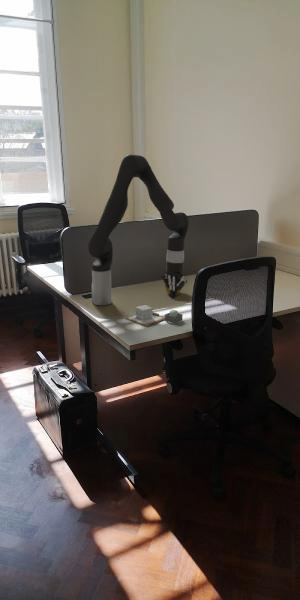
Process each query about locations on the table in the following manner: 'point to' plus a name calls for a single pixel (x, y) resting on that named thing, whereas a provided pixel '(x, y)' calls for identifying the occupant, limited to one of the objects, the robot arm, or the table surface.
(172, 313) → the button
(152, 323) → the picture frame
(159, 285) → the table surface
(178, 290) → the flower pot
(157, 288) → the table surface
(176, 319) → the button housing
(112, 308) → the table surface
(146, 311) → the small box
